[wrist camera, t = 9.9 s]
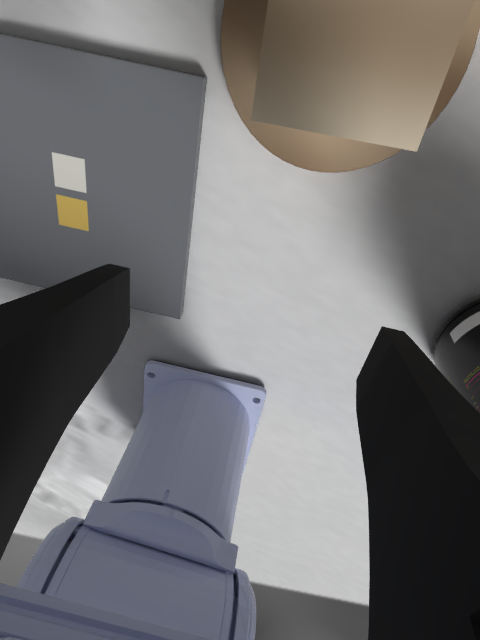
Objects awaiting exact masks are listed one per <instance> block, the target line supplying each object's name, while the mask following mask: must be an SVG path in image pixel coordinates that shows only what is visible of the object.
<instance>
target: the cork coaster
mask: <svg viewBox="0 0 480 640" xmlns="http://www.w3.org/2000/svg"><path fill="white" fill-rule="evenodd" d="M267 5H268V0H225V2H224V8H223V14H222V25H221V56H222V63H223V70H224V76H225V79H226V83H227V87H228V91H229V93H230V96H231V99H232V101H233V104H234V106H235V108H236V110H237V112H238V114H239V116H240V118H241V119H242V121H243V123H244V124H245V125H246V127H247V128H248V130H249V131H250V133H251V134H252V135H253V136H254V137H255V138H256V139H257V140H258V141H259V143H260V144H261V145H263V146H264V147H265V148H266V149H267V150H269V151H270V152H271V153H272V154H274V155H275V156H277V157H279V158H280V159H282V160H283V161H286V162H288V163H290V164H292V165H294V166H297V167H300V168H304V169H307V170H311V171H318V172H346V171H353V170H357V169H361V168H365V167H368V166H371V165H373V164H376V163H378V162H381V161H383V160H385V159H387V158H389V157H390V156H392V155H394V154H396V153H397V152H399V151H400V150H402V149H399V148H394V147H389V146H383V145H378V144H373V143H367V142H362V141H357V140H352V139H346V138H341V137H336V136H331V135H325V134H320V133H315V132H309V131H304V130H299V129H294V128H288V127H283V126H278V125H273V124H267V123H262V122H257V121H252V120H251V115H252V108H253V101H254V94H255V87H256V81H257V74H258V67H259V60H260V53H261V46H262V40H263V33H264V26H265V19H266V12H267ZM479 28H480V0H475V2H474V4H473V7H472V10H471V12H470V15H469V17H468V20H467V23H466V25H465V28H464V30H463V33H462V36H461V38H460V41H459V43H458V46H457V49H456V51H455V54H454V56H453V59H452V62H451V64H450V67H449V69H448V72H447V75H446V77H445V80H444V82H443V85H442V88H441V90H440V93H439V95H438V98H437V101H436V103H435V106H434V108H433V111H432V114H431V116H430V119H429V121H428V124H427V126H426V129H427V128H428V127H429V126H430V125H431V124H432V123H433V122H434V121H435V120H436V118H437V117H438V116H439V114H440V113H441V112H442V111H443V109H444V108H445V107H446V105H447V104H448V102H449V101H450V99H451V98H452V96H453V94H454V93H455V91H456V90H457V88H458V86H459V84H460V82H461V80H462V78H463V76H464V74H465V72H466V70H467V67H468V65H469V62H470V59H471V56H472V54H473V51H474V48H475V44H476V40H477V36H478V32H479ZM426 129H425V130H426Z"/></svg>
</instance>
